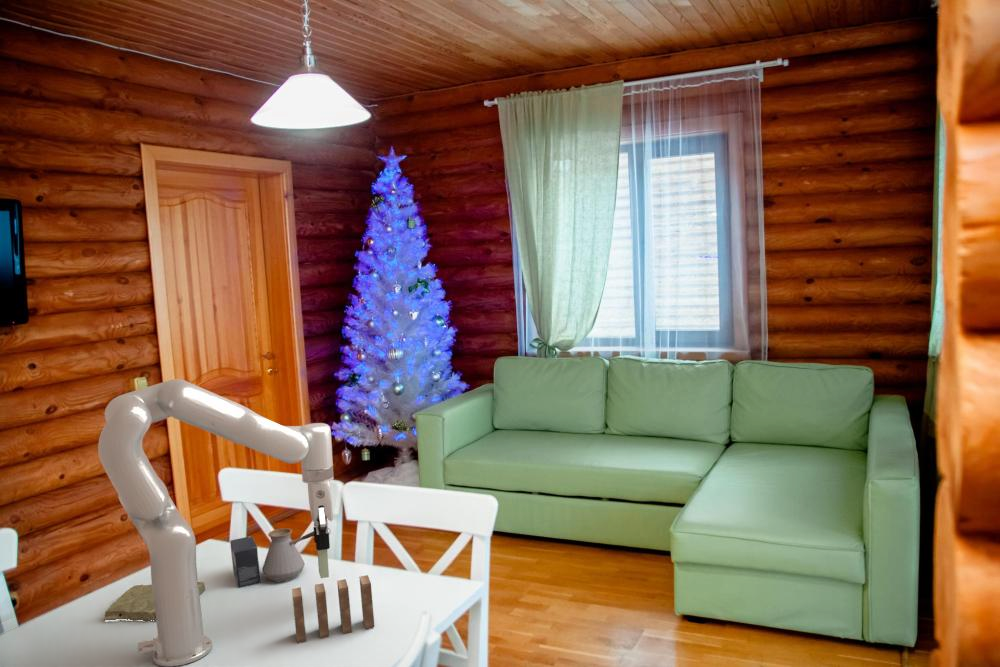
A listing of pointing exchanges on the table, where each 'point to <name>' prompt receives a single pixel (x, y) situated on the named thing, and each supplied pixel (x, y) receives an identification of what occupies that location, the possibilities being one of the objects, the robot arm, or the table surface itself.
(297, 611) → the domino
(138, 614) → the decorative tile
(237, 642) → the table surface
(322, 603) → the domino
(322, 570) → the domino
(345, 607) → the domino
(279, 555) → the coffee pot
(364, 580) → the domino
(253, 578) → the small box
